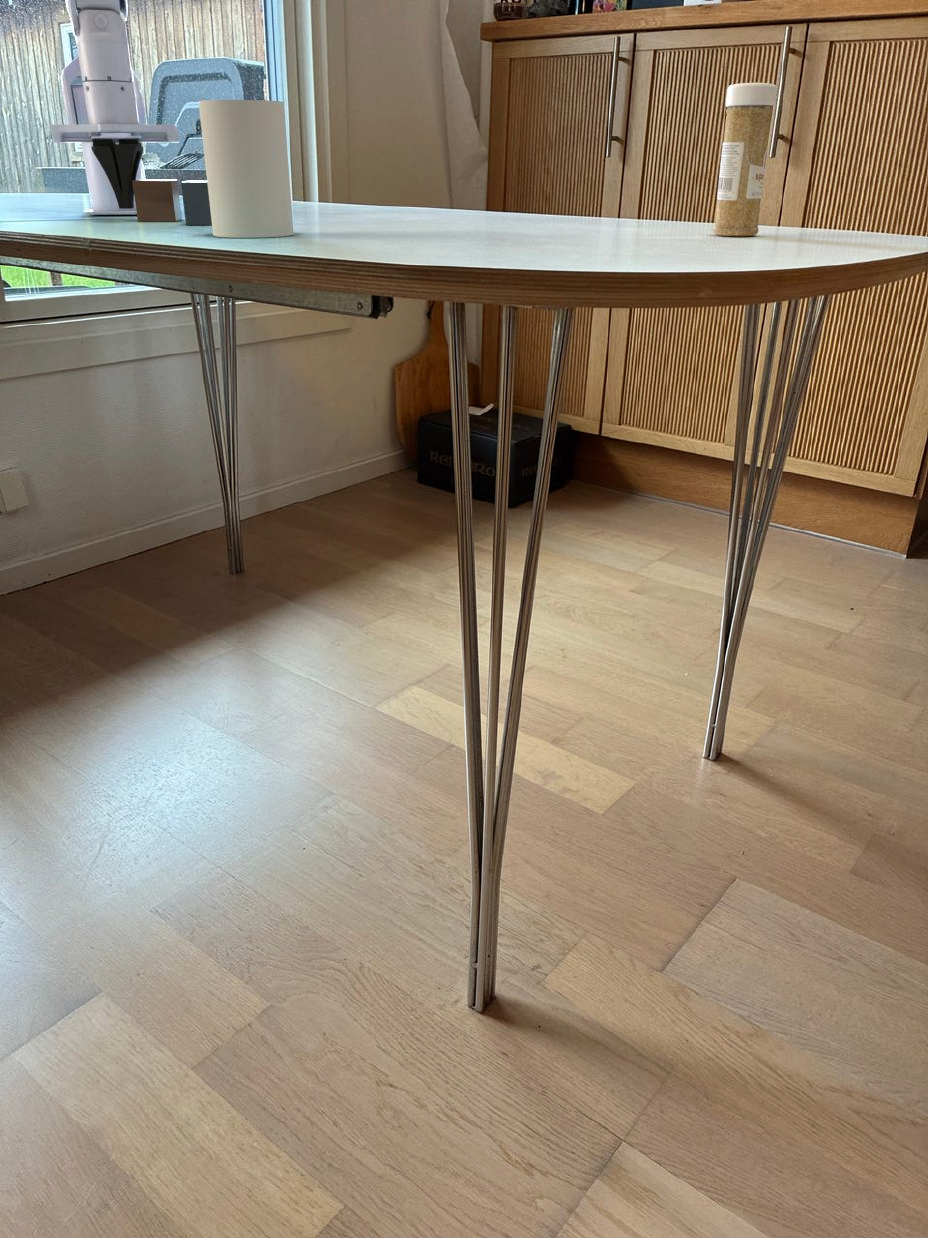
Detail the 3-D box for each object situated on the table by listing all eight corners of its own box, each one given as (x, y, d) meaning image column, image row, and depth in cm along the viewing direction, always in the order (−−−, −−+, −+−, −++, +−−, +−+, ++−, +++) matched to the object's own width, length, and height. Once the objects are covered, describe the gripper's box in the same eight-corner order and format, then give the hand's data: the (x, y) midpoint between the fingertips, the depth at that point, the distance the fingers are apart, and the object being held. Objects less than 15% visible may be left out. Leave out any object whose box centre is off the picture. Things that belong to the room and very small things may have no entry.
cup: (266, 230, 102) (255, 104, 97) (309, 234, 97) (299, 101, 91) (198, 234, 97) (183, 101, 92) (239, 239, 92) (225, 98, 86)
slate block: (192, 222, 114) (187, 180, 112) (230, 222, 114) (226, 180, 112) (185, 225, 110) (180, 181, 107) (226, 224, 110) (221, 181, 108)
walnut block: (145, 219, 120) (139, 179, 118) (182, 219, 120) (177, 179, 118) (137, 221, 116) (132, 180, 114) (176, 221, 116) (170, 180, 114)
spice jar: (764, 236, 94) (784, 81, 88) (718, 236, 94) (736, 81, 88) (749, 233, 98) (767, 85, 92) (706, 233, 98) (722, 85, 92)
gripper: (34, 79, 107) (57, 210, 113) (164, 80, 108) (180, 209, 114) (52, 83, 113) (73, 207, 119) (175, 84, 114) (190, 206, 120)
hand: (126, 208), depth 117 cm, fingers closed
